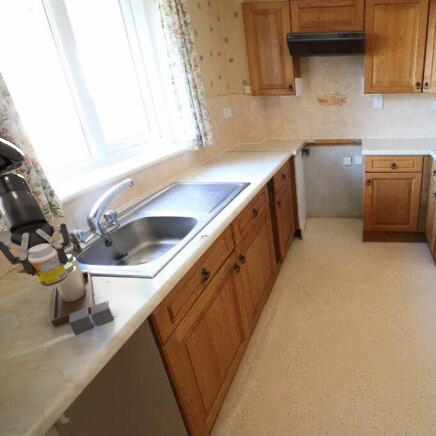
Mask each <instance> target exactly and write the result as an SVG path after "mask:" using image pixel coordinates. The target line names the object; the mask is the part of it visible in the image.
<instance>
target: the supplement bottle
mask: <svg viewBox="0 0 436 436" xmlns="http://www.w3.org/2000/svg"><path fill="white" fill-rule="evenodd" d="M29 253H30V255H29V262H30V264H31V266H32V268H33V270H34V272H35V274H36V275H35V276H36V277H37V279H38V281H39V283H40V285H41V287H44V288H51V287H52V288H54V286H56V285H59V284H61V283H63V282H64V281H66V280H67V278H68V274H67V272H66V270H65V268H64V265H63V263H62V261H61V259H60V257H59V255H58V253H57V250H55V249H54V248H52V247H50V245H49V244H39V245H36V246H34V247H32V248H30V249H29Z"/></svg>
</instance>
